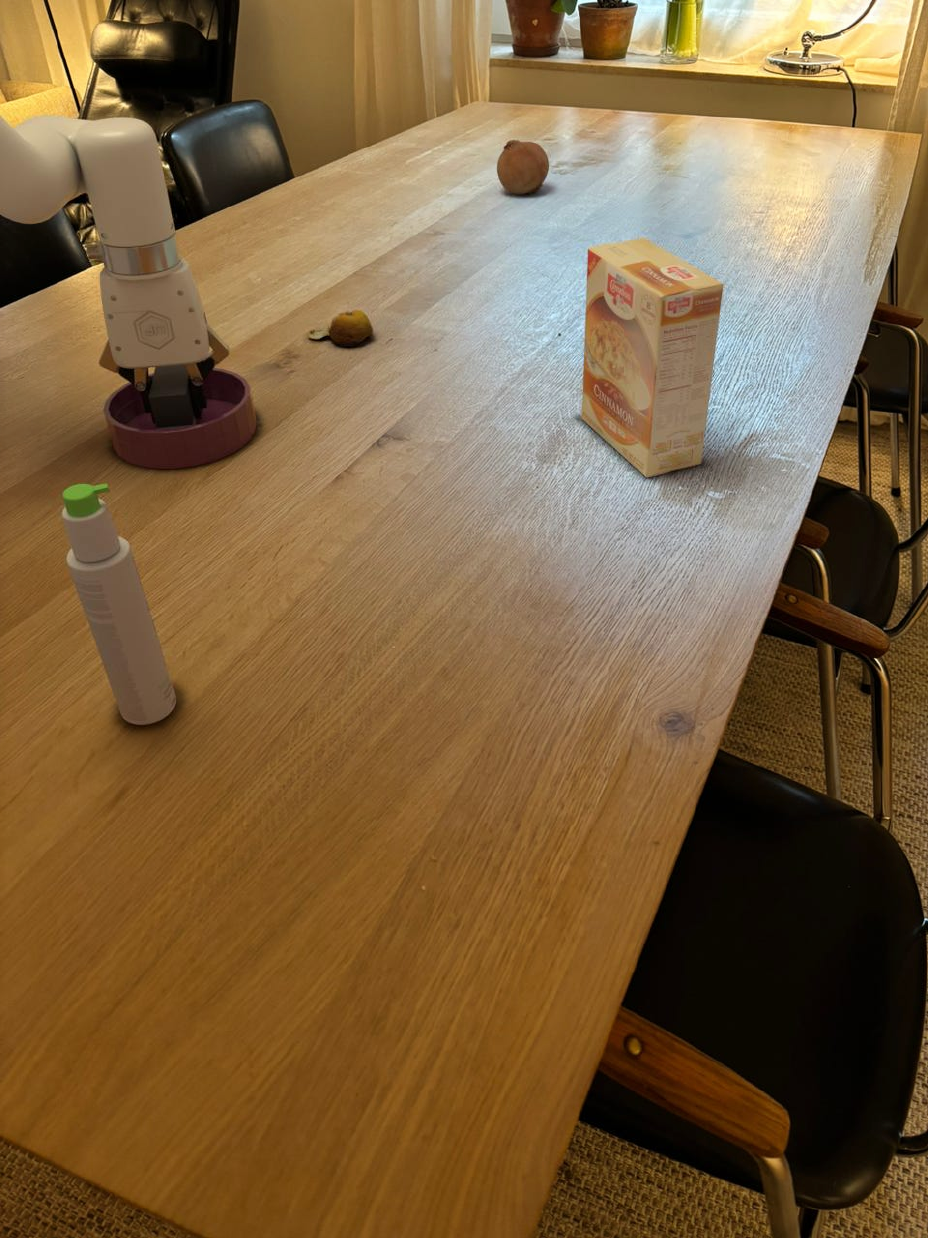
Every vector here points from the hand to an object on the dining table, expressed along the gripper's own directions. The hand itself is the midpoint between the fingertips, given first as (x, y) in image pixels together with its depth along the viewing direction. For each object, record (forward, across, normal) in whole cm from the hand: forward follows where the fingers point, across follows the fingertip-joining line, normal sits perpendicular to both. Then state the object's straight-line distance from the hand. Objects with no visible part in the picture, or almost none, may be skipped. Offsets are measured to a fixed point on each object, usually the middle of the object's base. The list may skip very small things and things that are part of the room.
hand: (178, 414), depth 113 cm
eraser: (+1, 0, 0) cm, 1 cm away
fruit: (+2, +20, +24) cm, 32 cm away
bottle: (+3, 0, -46) cm, 46 cm away
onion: (+2, +56, +81) cm, 99 cm away
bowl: (+2, 0, 0) cm, 3 cm away
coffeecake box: (+2, +50, -13) cm, 52 cm away
